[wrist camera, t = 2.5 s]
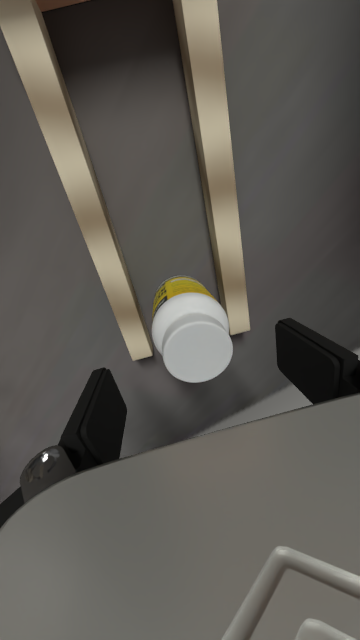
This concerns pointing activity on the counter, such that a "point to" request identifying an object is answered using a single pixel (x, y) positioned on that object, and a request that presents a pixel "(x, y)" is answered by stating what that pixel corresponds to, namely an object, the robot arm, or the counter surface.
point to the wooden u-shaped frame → (78, 173)
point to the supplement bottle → (190, 330)
